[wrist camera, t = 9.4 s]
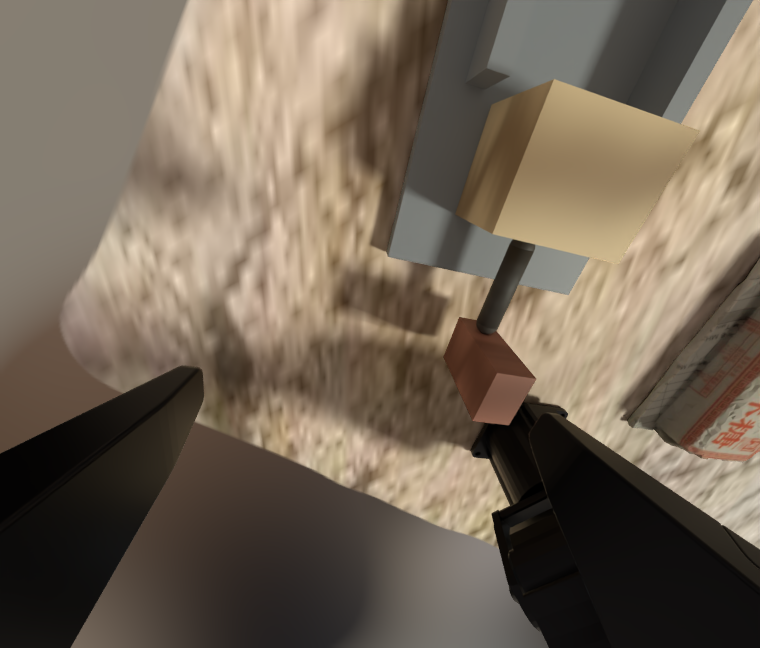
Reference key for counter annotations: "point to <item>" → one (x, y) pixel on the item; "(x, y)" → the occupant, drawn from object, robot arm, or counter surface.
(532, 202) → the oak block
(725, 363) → the packaged product
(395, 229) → the shelf lane
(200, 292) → the counter surface
